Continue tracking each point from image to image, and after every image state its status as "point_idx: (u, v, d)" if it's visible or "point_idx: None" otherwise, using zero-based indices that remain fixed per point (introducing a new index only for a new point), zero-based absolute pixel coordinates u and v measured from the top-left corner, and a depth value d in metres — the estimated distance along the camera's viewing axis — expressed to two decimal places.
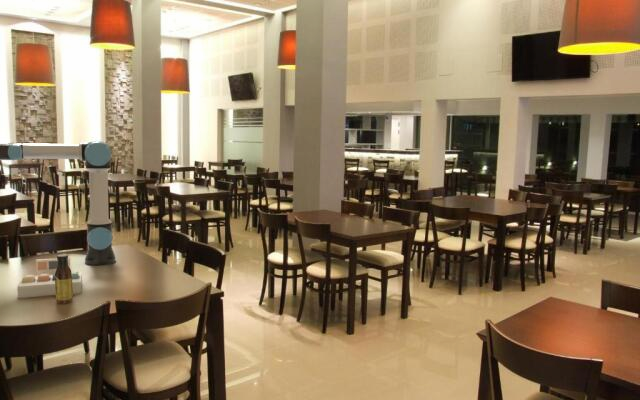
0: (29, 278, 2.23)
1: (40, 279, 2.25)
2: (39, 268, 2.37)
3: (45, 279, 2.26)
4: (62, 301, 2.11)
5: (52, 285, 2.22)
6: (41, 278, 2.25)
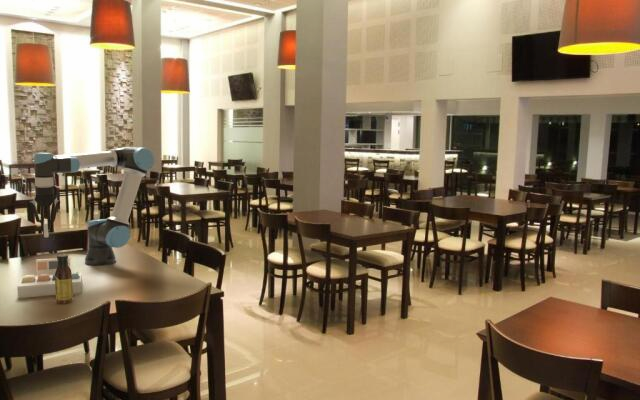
0: (29, 278, 2.23)
1: (40, 279, 2.25)
2: (39, 268, 2.37)
3: (45, 279, 2.26)
4: (62, 301, 2.11)
5: (52, 285, 2.22)
6: (41, 278, 2.25)
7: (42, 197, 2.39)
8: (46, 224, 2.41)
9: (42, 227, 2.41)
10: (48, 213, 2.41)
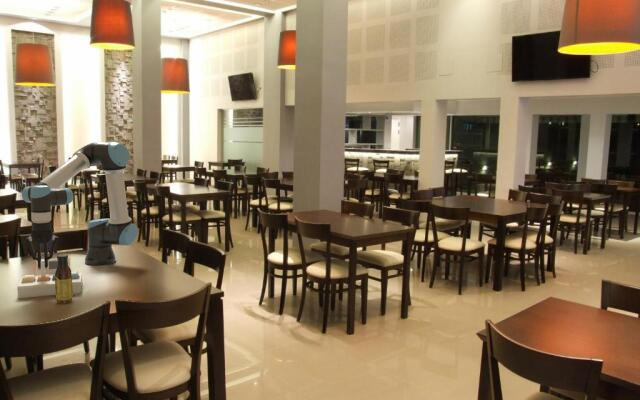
0: (29, 278, 2.23)
1: (40, 280, 2.25)
2: (39, 268, 2.37)
3: (46, 279, 2.26)
4: (62, 301, 2.11)
5: (52, 285, 2.22)
6: (41, 279, 2.25)
7: (39, 233, 2.23)
8: (43, 262, 2.25)
9: (39, 265, 2.25)
10: (45, 250, 2.25)
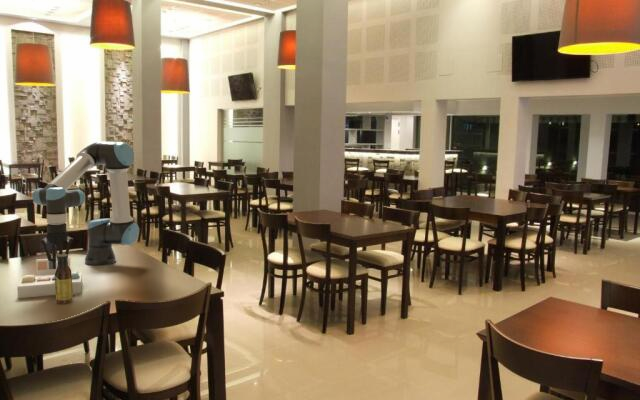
0: (29, 278, 2.23)
1: None
2: (39, 268, 2.37)
3: None
4: (62, 301, 2.11)
5: (52, 285, 2.22)
6: None
7: (54, 235, 2.26)
8: None
9: (54, 266, 2.27)
10: (60, 251, 2.27)
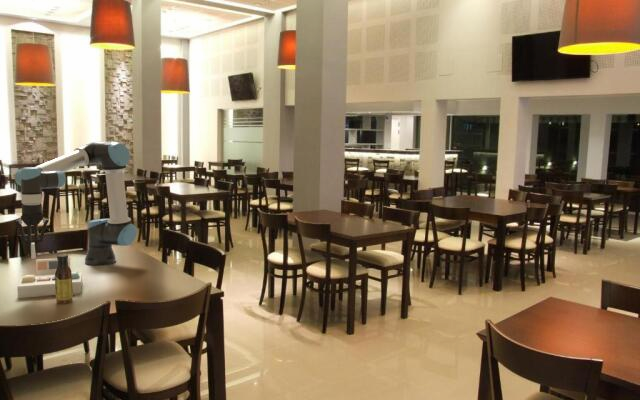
0: (29, 278, 2.23)
1: None
2: (39, 268, 2.37)
3: None
4: (62, 301, 2.11)
5: (52, 285, 2.22)
6: None
7: (29, 215, 2.21)
8: (33, 245, 2.23)
9: (29, 248, 2.23)
10: (35, 233, 2.22)
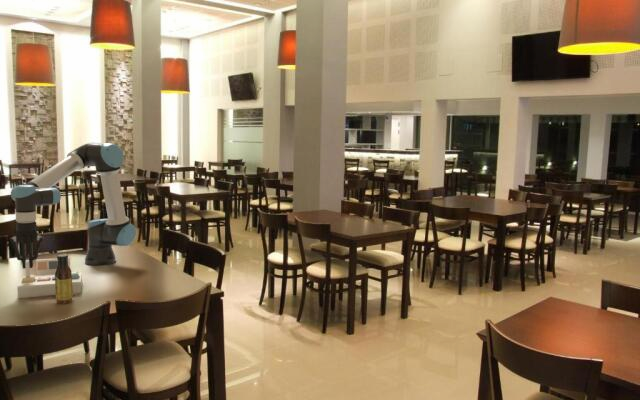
0: (29, 278, 2.23)
1: None
2: (39, 268, 2.37)
3: None
4: (62, 301, 2.11)
5: (52, 285, 2.22)
6: None
7: (23, 233, 2.21)
8: (28, 262, 2.23)
9: (24, 265, 2.23)
10: (30, 250, 2.23)
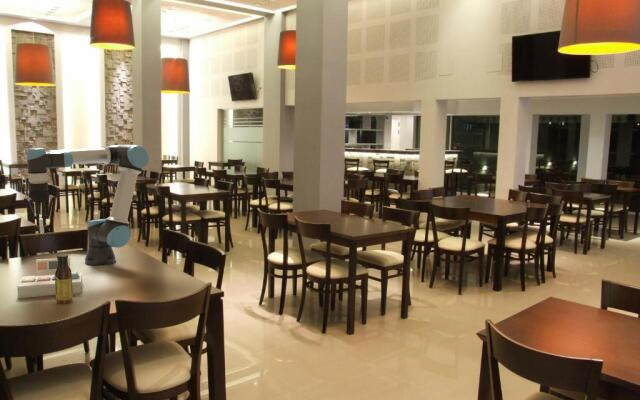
0: (29, 281, 2.23)
1: None
2: (39, 268, 2.37)
3: None
4: (62, 301, 2.11)
5: (52, 285, 2.22)
6: None
7: (36, 193, 2.36)
8: (41, 220, 2.38)
9: (38, 223, 2.38)
10: (43, 209, 2.38)
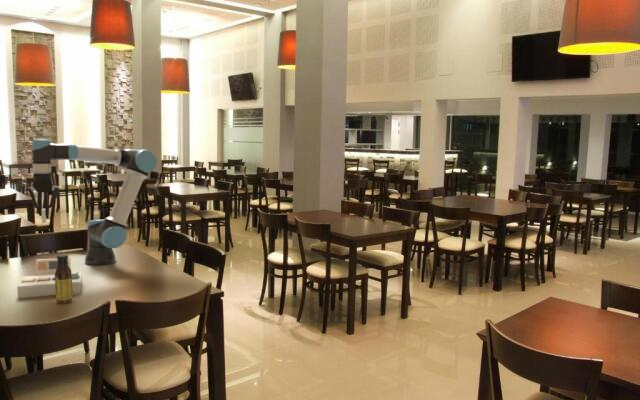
0: (29, 281, 2.23)
1: None
2: (39, 268, 2.37)
3: None
4: (62, 301, 2.11)
5: (52, 285, 2.22)
6: None
7: (40, 183, 2.41)
8: (44, 210, 2.43)
9: (40, 213, 2.43)
10: (46, 199, 2.43)
